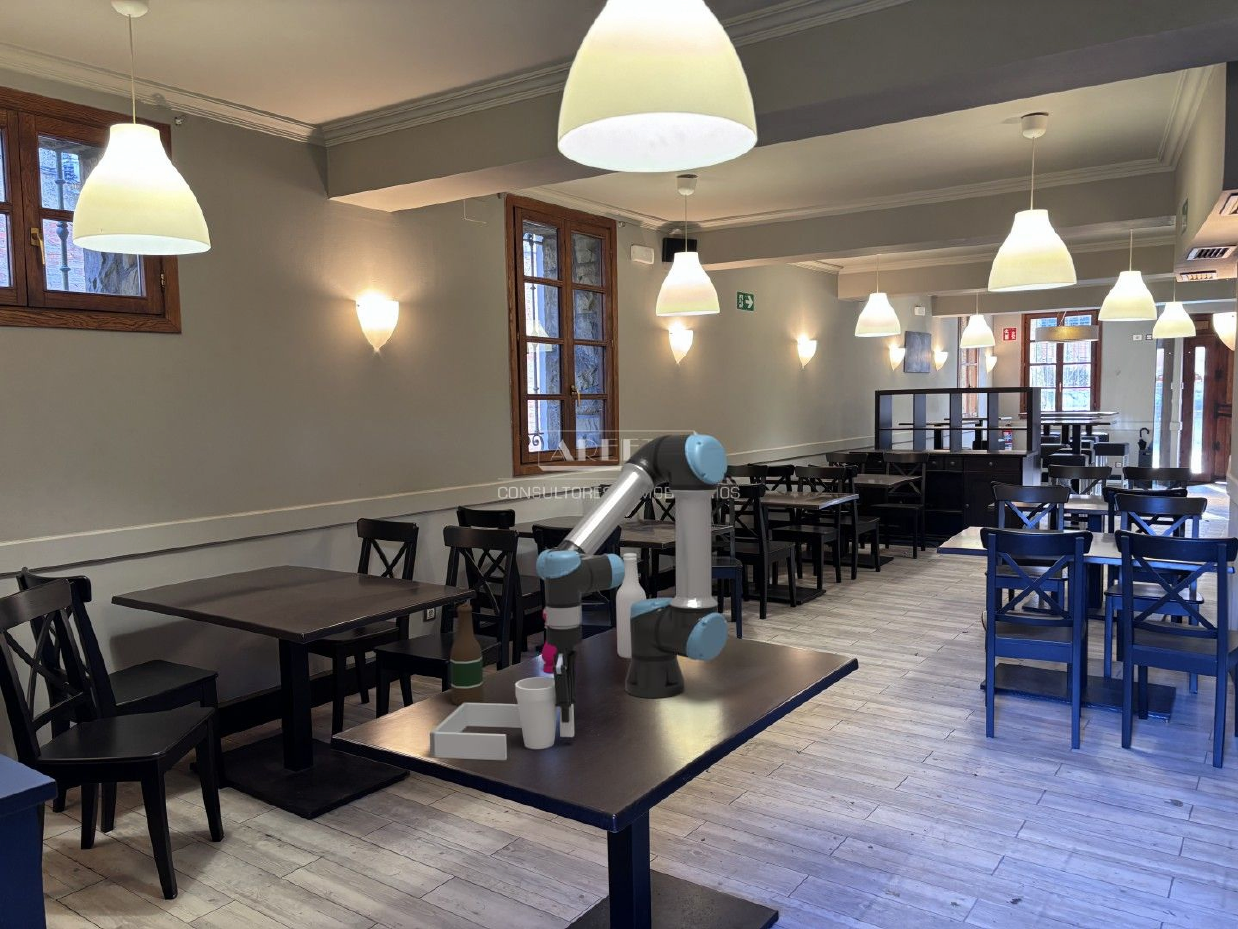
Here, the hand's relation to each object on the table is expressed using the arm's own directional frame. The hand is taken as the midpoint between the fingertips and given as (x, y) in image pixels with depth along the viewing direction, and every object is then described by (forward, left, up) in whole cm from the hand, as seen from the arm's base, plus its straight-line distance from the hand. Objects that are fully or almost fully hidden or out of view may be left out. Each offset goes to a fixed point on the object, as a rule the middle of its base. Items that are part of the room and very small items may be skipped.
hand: (567, 735), depth 181 cm
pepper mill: (+17, -55, -2) cm, 58 cm away
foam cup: (+6, 0, -2) cm, 7 cm away
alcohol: (-2, -73, -2) cm, 73 cm away
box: (+19, 0, -2) cm, 19 cm away
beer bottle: (+32, -26, -2) cm, 41 cm away
